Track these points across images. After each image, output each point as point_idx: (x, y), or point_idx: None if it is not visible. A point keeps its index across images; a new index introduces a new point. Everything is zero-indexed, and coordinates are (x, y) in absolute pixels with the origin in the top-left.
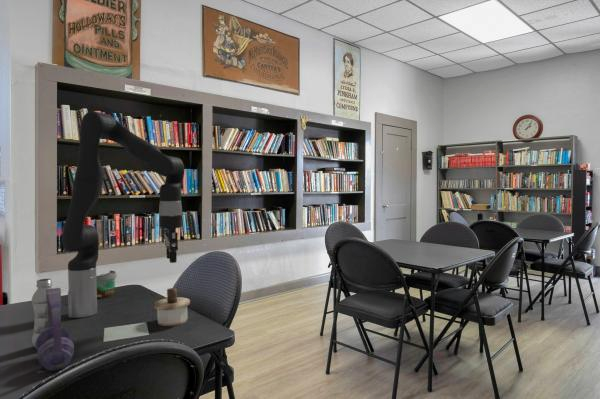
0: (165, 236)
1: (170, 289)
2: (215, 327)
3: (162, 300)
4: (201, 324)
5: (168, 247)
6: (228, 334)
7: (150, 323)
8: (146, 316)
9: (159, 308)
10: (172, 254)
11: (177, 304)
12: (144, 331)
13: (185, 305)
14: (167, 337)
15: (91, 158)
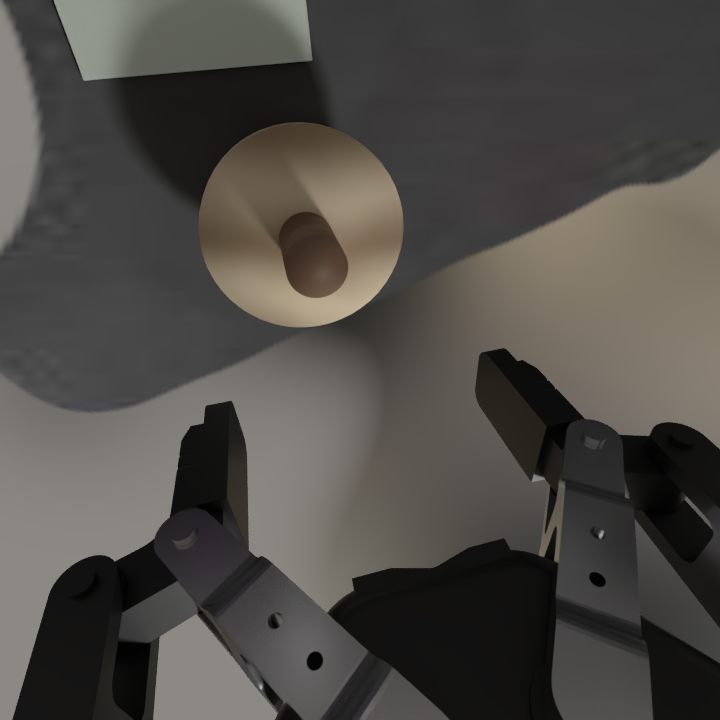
0: (553, 658)
1: (315, 260)
2: (173, 372)
3: (361, 181)
4: (223, 325)
5: (554, 450)
6: (82, 411)
7: (305, 87)
8: (436, 61)
9: (220, 161)
10: (188, 502)
11: (245, 269)
12: (145, 50)
13: (242, 305)
14: (56, 183)
15: None
